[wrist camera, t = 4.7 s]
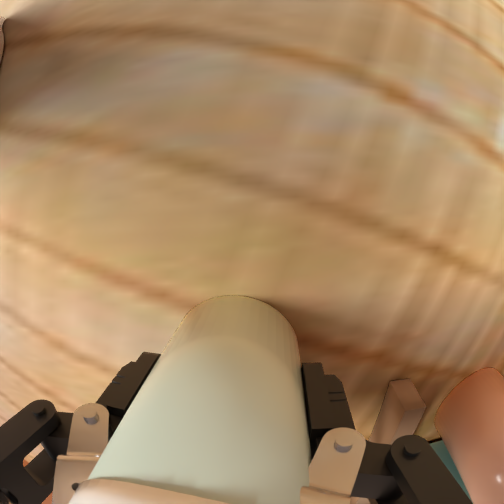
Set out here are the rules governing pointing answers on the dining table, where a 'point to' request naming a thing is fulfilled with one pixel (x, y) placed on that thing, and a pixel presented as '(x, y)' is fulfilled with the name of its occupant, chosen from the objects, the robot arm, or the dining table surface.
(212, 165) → the dining table surface
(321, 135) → the dining table surface
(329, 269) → the dining table surface
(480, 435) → the jar
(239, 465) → the sage jar
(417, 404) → the lane
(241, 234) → the dining table surface
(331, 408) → the robot arm
